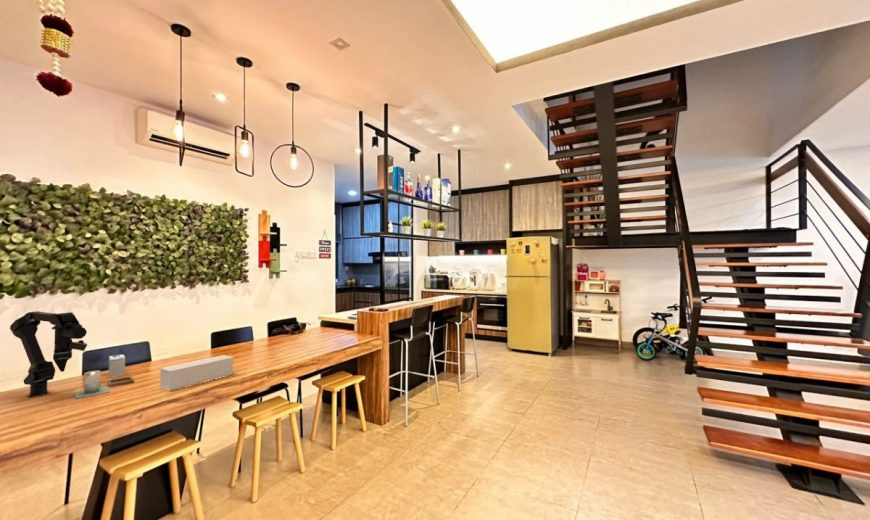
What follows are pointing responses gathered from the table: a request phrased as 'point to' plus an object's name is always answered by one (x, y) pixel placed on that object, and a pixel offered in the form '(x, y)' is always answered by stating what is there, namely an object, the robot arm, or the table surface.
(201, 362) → the long grey concrete block
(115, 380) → the walnut collar
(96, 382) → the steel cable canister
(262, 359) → the table surface
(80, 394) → the mat
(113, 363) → the grey boxy fixture
